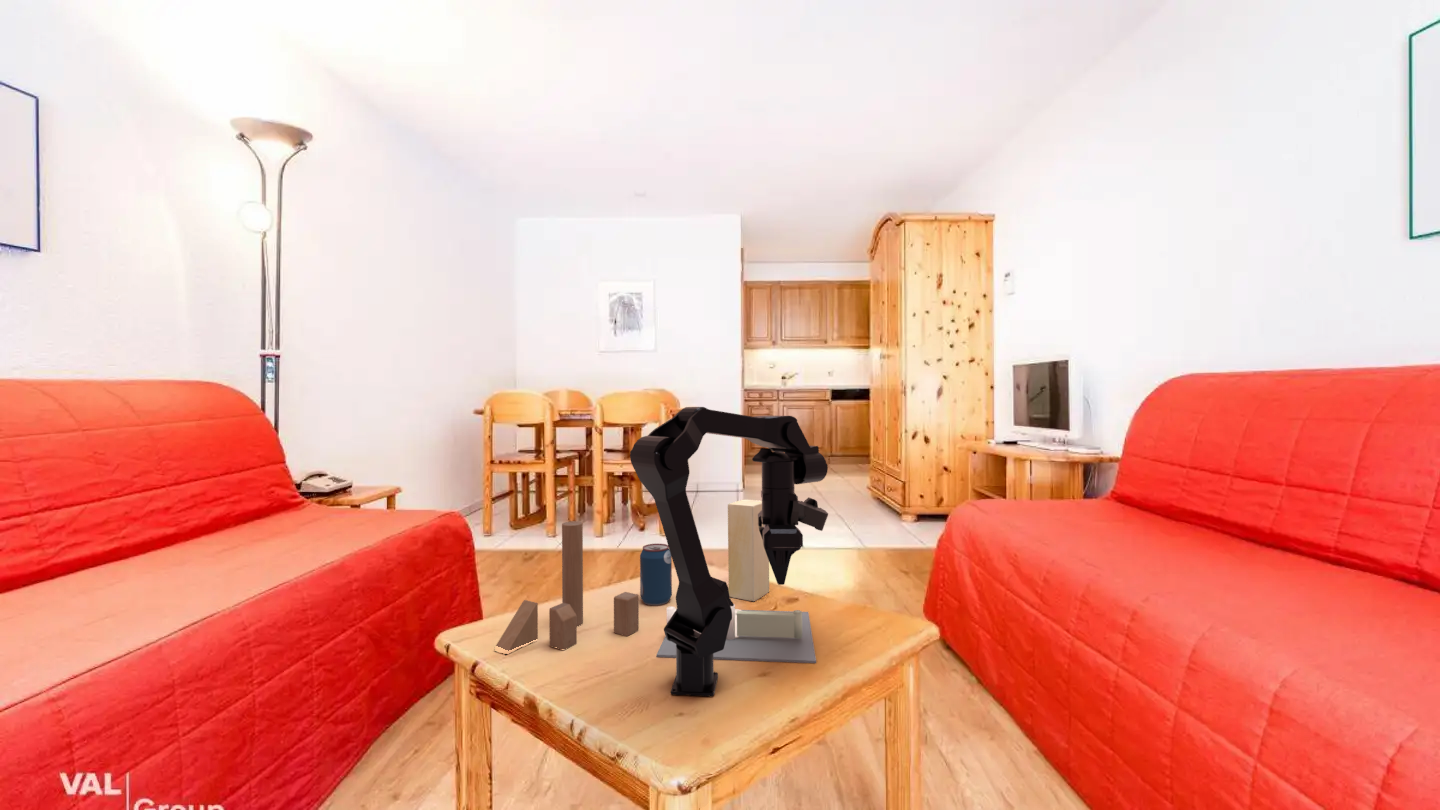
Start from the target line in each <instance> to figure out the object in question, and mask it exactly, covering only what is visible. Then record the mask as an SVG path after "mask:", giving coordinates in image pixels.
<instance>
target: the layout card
mask: <svg viewBox="0 0 1440 810" xmlns="http://www.w3.org/2000/svg"><path fill="white" fill-rule="evenodd" d="M733 604H734V606H731V609H732V620H731V621H730V625H729V629H728V633H727V637H726V642H725V646H724V649H723V650H721V651H718V652H716V653H713V660H720V661H721V660H722V661H724V660H725V661H747V662H748V661H749V662H752V661H753V662H773V663H774V662H775V663H776V662H777V663H800V664H817V657H816V651H815V645H814V639H813V633H812V627H811V621H810V620H811V619H810V613H809V611H802V638H799V639H798V638H789V637H760V636H737V611H763V612H793V611H794V610H792V611H790V610H788V611H787V610H786V611H785V610H762V609H761V610H755V609H739V608H735V607H736V604H735V603H733ZM675 611H676V607H675V606H671V605H669V606H667V607H666V624H667V623H668V622H669V620H670V619H671V617H672V615H673V614H674V612H675ZM694 631H695V630H694ZM696 632H697V631H696ZM698 633H699V632H698ZM700 634H701V633H700ZM655 656H656V658H668V659H669V658H670V659H671V658H674V659H676V644H675V643H673V642H671V641H668V640H667V638H666V635H665V636H664V638H663V640H662V643H660V647H659V649H658V651H657V653H656V655H655Z"/></svg>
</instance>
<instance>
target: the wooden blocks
mask: <svg viewBox="0 0 1440 810" xmlns="http://www.w3.org/2000/svg"><path fill="white" fill-rule="evenodd" d="M583 523H584V522H582V521H579V520H573V521H565V522H563V523H562V524H561V564H562V565H561V570H562V572H561V573H562V575H561V578H562V579H561V591H562V592H561V593H562V594H561V596H562V597H561V600H562V601H561V602H560V603H559V604H557V605H554V606H552V607H550V608H549V613H548V614H549V620H548V621H549V647H550V646H553V647H557V648H559V649H565V650H567V649H569V648H571V647H573V646H574V644H575V645H576V644H577V643H578V640H577V638H578V636H577V635H578V634H577V633H578V631H577V628H578V627H580V626H582V625H583V624H584V563H583V562H584V558H583V557H584V551H583V549H584V547H583V546H584V545H583V538H584V537H583V535H584V533H583V527H584V526H583V525H584V524H583ZM538 607H539V604H538V602H535V601H531V600H527V599H523V601H522V602H521V603H520V606H519V607H518V609H517V611H516V612H515V613H514V615H513V617H512V618H511V621H510V622H509V624H508V625H507V626H506V628H505V630H504V632H503V634H502V635H501V637H500V638H499V640H498V641H497V643H496V645H495V646H498V647H501V648H503V649H505V650H508V651H509V650H512V649H514V648H516V647H519V646H521V645H524V644H526V643H529V642H531V641H533V640H536V639H538V640H539V634H538V633H539V629H538V628H539V626H538V625H539V623H538V622H539V618H538V617H539V616H538V615H539V614H538ZM639 619H640V617H639V594H638V593H633V592H627V591H624V592H621V593H620V594H617V595H615V596H613V632H614V634H617V635H620V636H621V635H622V636H624V637H629V636H631V635H633V634H634V633H637V632H638V631H639V627H640V626H639V624H640V623H639V622H640V621H639ZM581 624H582V625H581ZM579 625H580V626H579ZM577 626H578V627H577ZM572 645H573V646H572ZM570 646H571V647H570ZM568 647H569V648H568ZM566 648H567V649H566ZM559 649H558V650H559Z"/></svg>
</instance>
